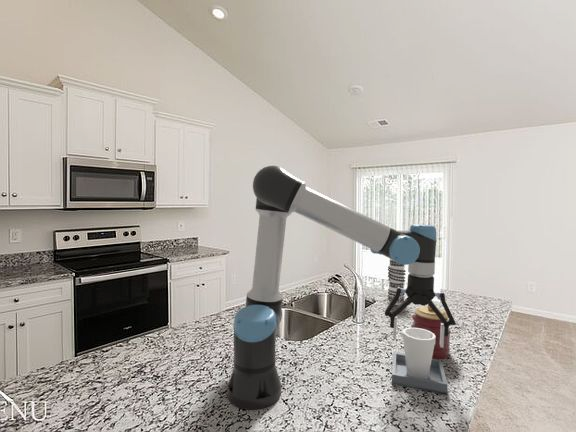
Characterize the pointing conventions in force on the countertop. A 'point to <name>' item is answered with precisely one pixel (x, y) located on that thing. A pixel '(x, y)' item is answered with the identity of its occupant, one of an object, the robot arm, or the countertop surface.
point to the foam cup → (418, 351)
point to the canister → (432, 329)
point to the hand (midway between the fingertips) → (417, 341)
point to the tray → (432, 383)
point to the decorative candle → (396, 280)
